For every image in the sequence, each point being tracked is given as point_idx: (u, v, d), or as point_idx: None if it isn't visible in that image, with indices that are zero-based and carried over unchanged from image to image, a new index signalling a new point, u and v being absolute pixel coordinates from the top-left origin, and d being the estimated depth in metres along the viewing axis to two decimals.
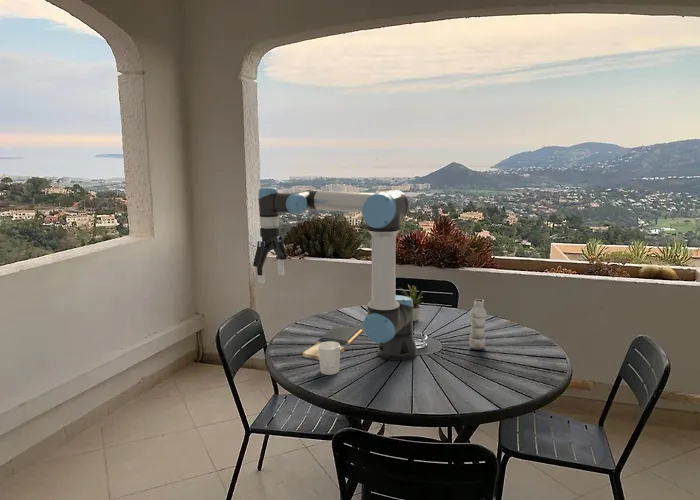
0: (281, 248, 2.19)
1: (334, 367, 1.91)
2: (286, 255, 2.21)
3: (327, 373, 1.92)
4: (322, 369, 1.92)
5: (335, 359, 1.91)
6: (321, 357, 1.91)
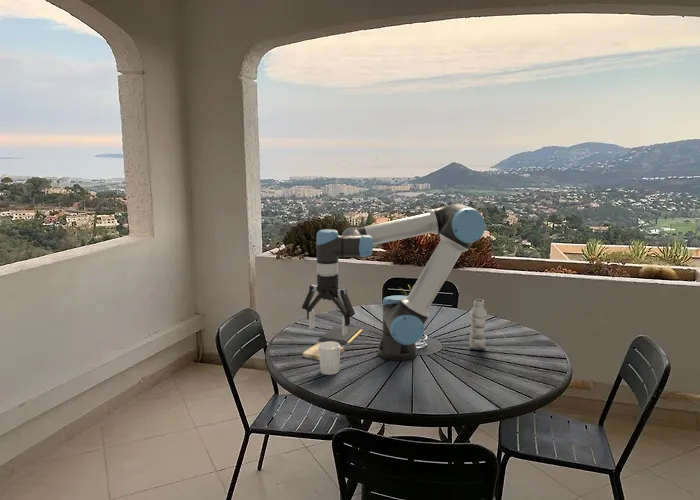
0: None
1: (334, 367, 1.91)
2: (349, 314, 1.85)
3: (327, 373, 1.92)
4: (322, 369, 1.92)
5: (335, 359, 1.91)
6: (321, 357, 1.91)
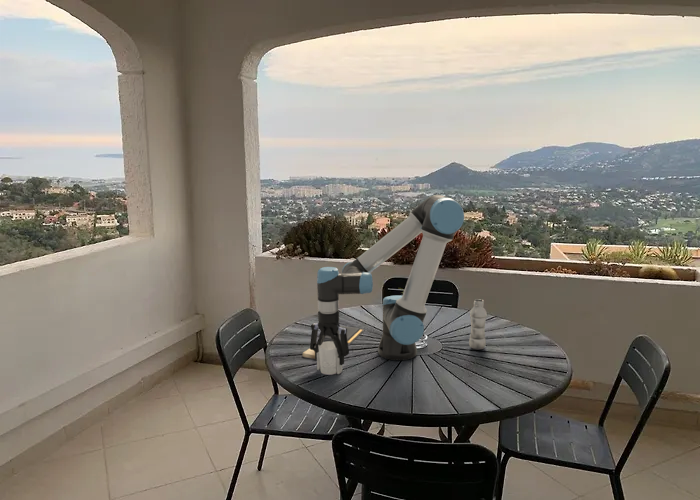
0: None
1: (334, 367, 1.91)
2: (343, 354, 1.89)
3: (327, 373, 1.92)
4: (322, 369, 1.92)
5: (335, 359, 1.91)
6: (321, 357, 1.91)
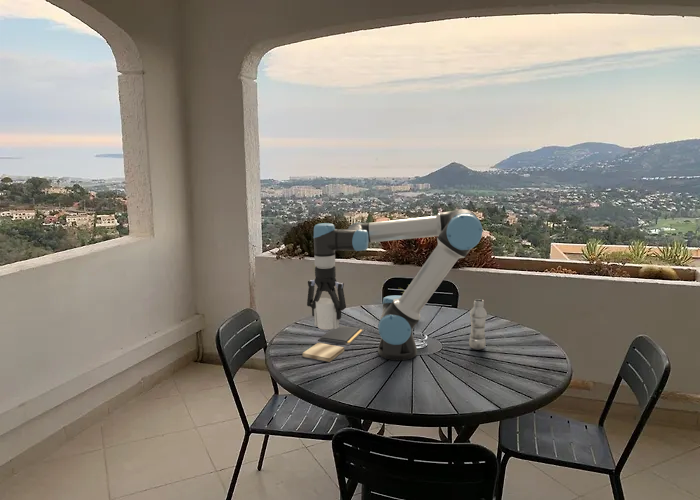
0: None
1: (331, 322, 1.95)
2: (341, 308, 1.93)
3: (325, 328, 1.95)
4: (319, 324, 1.96)
5: (332, 314, 1.94)
6: (318, 312, 1.94)
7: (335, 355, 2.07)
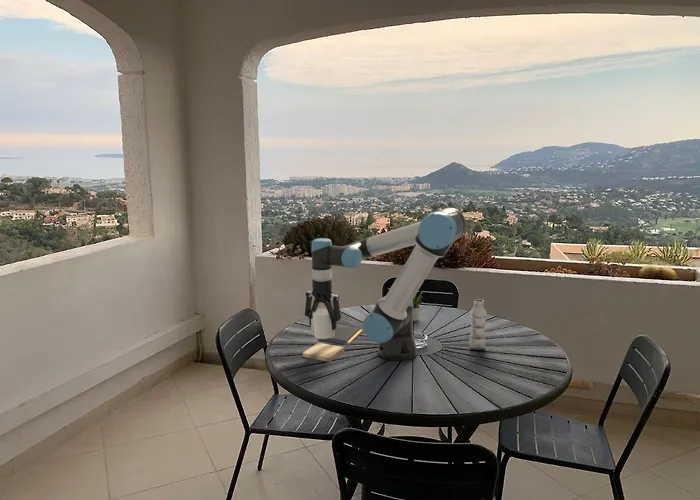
0: None
1: (327, 332, 2.06)
2: (336, 319, 2.03)
3: (320, 337, 2.06)
4: (316, 333, 2.07)
5: (328, 324, 2.05)
6: (315, 322, 2.05)
7: (335, 355, 2.07)
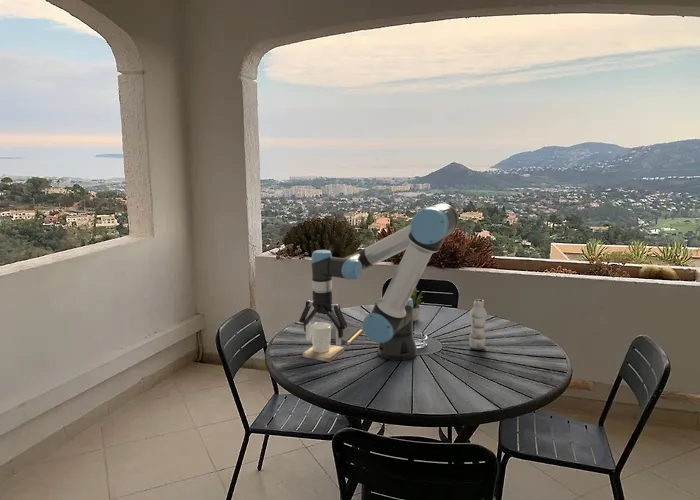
0: None
1: (325, 346, 2.07)
2: (342, 327, 2.03)
3: (319, 351, 2.07)
4: (314, 347, 2.08)
5: (326, 338, 2.07)
6: (313, 336, 2.07)
7: (335, 355, 2.07)
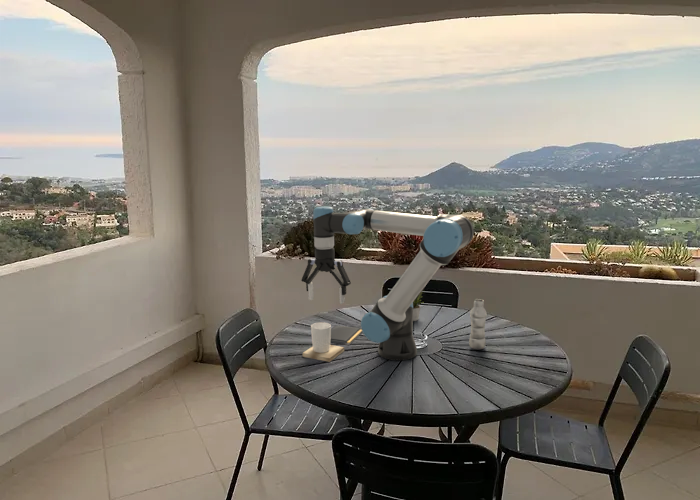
0: None
1: (325, 346, 2.07)
2: (346, 284, 2.00)
3: (319, 351, 2.07)
4: (314, 347, 2.08)
5: (326, 338, 2.07)
6: (313, 336, 2.07)
7: (335, 355, 2.07)
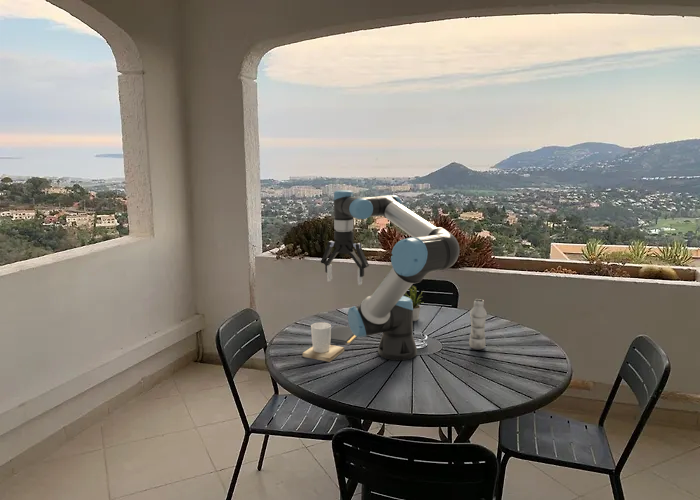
0: None
1: (325, 346, 2.07)
2: (364, 266, 2.06)
3: (319, 351, 2.07)
4: (314, 347, 2.08)
5: (326, 338, 2.07)
6: (313, 336, 2.07)
7: (335, 355, 2.07)
